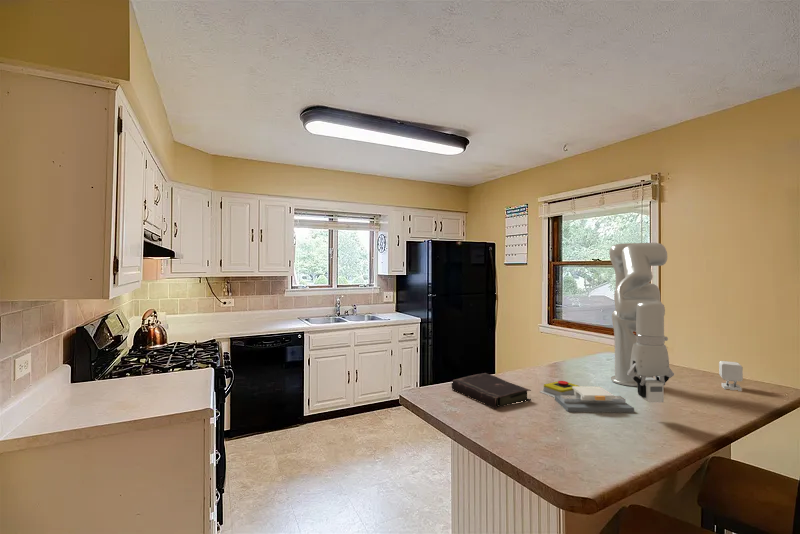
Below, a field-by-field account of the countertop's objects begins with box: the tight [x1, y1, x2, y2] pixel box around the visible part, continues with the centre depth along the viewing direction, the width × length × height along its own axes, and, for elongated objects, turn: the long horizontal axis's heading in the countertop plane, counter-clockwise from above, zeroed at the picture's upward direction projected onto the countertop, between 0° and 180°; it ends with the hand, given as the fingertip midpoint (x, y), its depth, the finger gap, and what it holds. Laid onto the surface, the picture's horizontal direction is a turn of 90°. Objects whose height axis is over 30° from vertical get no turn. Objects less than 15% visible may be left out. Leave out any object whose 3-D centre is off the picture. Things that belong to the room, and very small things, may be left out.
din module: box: [637, 377, 665, 403], centre depth 122 cm, size 4×6×6 cm
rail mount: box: [554, 395, 635, 413], centre depth 134 cm, size 22×12×3 cm, turn 87°
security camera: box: [718, 360, 744, 392], centre depth 153 cm, size 6×7×10 cm
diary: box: [451, 372, 532, 410], centre depth 146 cm, size 19×25×5 cm
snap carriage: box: [572, 385, 615, 401], centre depth 133 cm, size 10×11×2 cm
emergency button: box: [539, 380, 579, 399], centre depth 149 cm, size 9×4×15 cm
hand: (650, 395), depth 122 cm, fingers closed on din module, 4 cm apart
